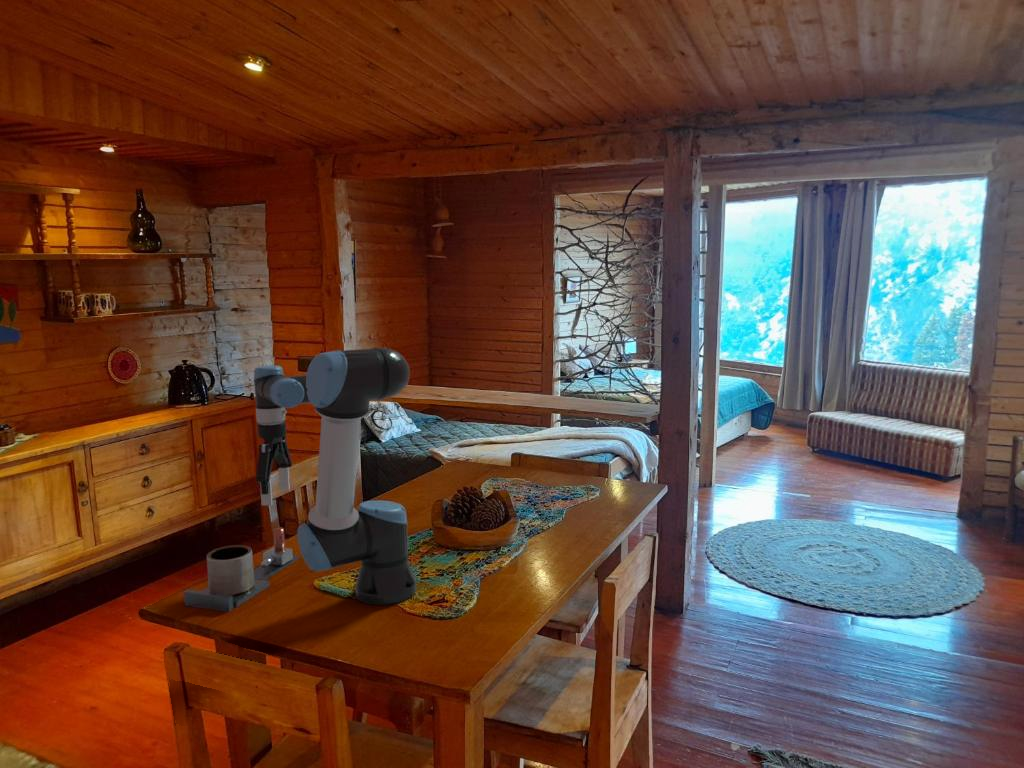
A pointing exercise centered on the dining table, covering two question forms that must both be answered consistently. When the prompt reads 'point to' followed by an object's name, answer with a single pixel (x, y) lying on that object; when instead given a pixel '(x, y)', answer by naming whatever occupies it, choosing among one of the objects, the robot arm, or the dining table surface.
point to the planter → (230, 570)
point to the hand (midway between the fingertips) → (276, 497)
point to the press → (228, 601)
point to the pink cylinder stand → (277, 550)
